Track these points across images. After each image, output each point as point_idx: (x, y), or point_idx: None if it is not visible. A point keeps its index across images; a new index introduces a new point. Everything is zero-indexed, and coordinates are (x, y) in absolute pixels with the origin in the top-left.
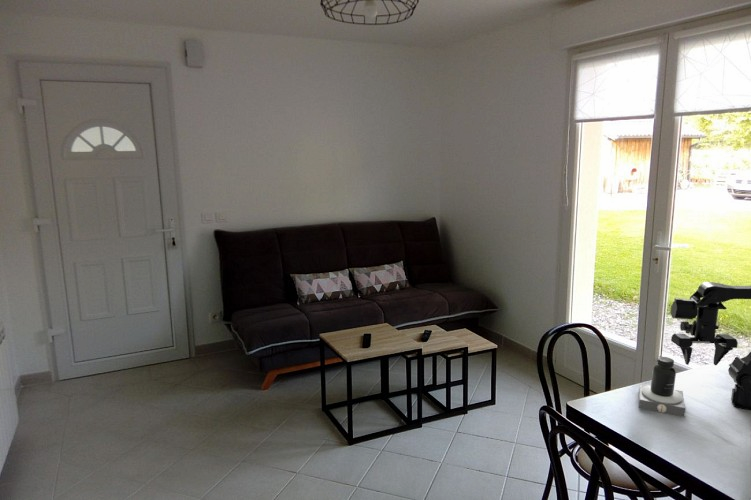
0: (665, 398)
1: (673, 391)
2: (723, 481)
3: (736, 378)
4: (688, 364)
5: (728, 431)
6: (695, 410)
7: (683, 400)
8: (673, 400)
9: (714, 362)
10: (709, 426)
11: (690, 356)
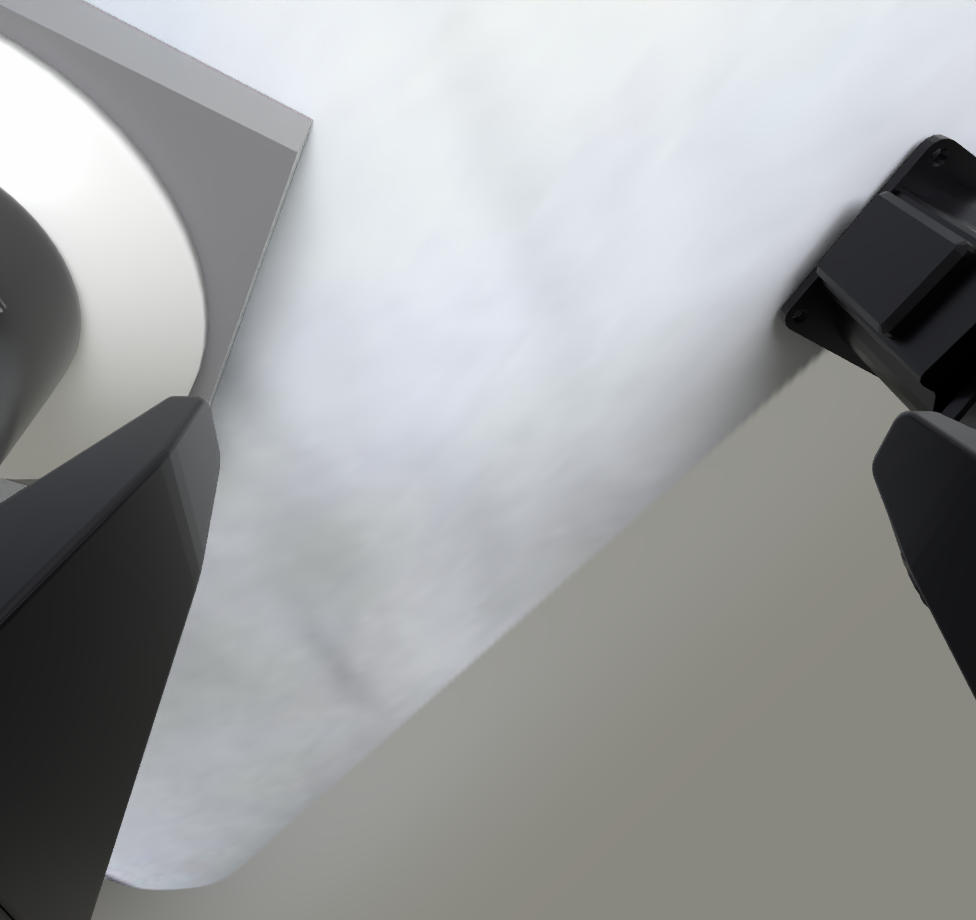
0: None
1: (56, 385)
2: (168, 859)
3: (906, 566)
4: (216, 476)
5: (427, 611)
6: (348, 366)
7: (204, 393)
8: (57, 454)
9: (917, 466)
10: (330, 570)
11: (122, 787)
